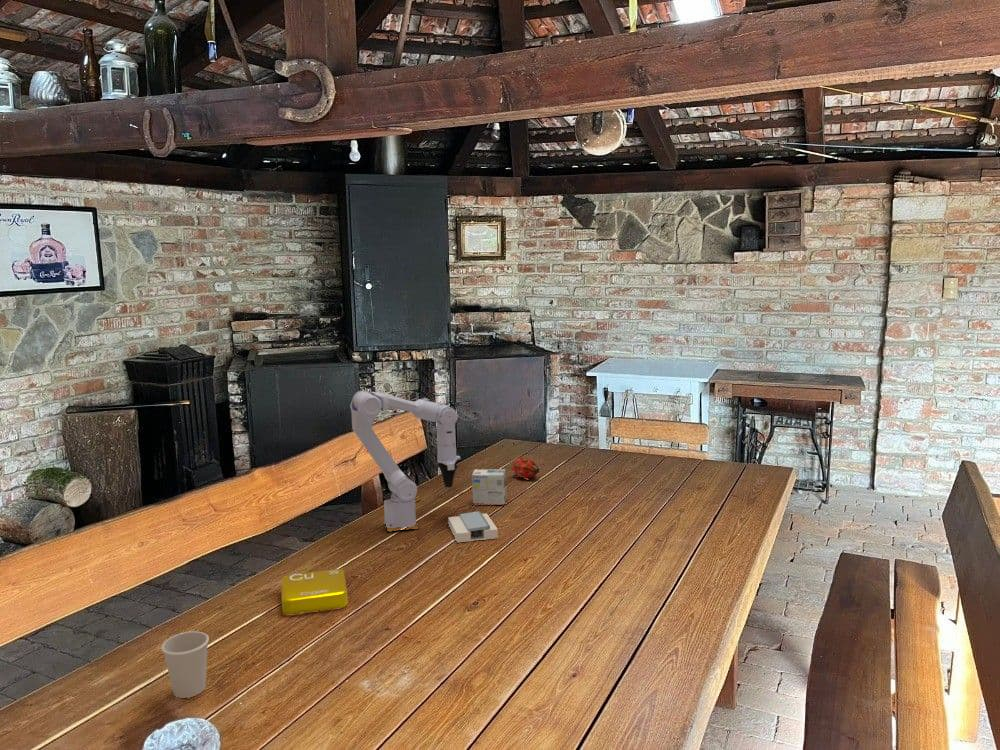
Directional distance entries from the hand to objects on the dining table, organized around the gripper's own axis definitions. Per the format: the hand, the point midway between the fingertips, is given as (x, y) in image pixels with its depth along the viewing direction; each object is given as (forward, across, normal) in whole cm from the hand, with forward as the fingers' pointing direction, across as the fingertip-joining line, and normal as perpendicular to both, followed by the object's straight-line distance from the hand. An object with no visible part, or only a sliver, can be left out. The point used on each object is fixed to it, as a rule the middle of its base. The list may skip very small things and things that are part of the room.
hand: (448, 486), depth 234 cm
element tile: (+10, -46, +41) cm, 63 cm away
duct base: (+10, -14, -4) cm, 18 cm away
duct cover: (+7, -14, -5) cm, 17 cm away
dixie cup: (+9, -80, +64) cm, 103 cm away
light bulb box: (+11, +11, -15) cm, 22 cm away
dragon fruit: (+11, +34, -34) cm, 49 cm away
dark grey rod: (+9, -14, -4) cm, 18 cm away
